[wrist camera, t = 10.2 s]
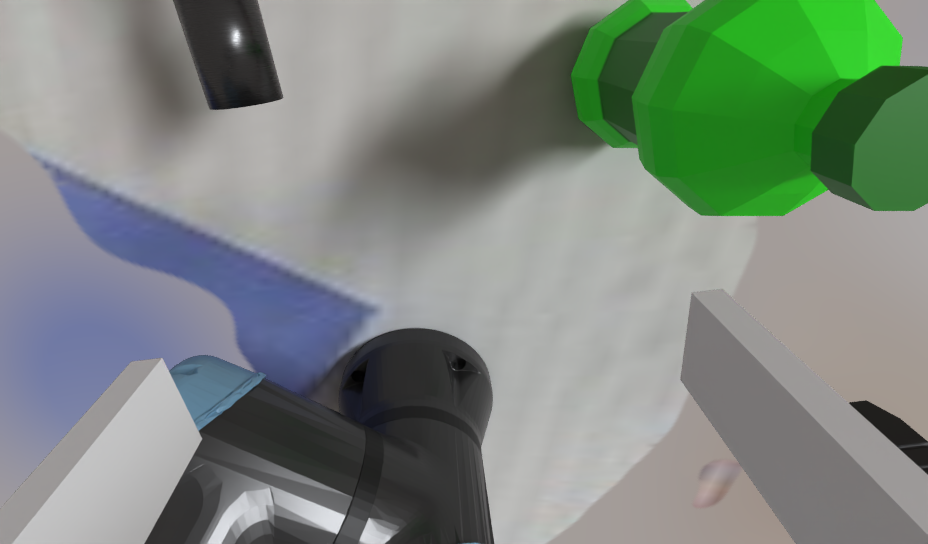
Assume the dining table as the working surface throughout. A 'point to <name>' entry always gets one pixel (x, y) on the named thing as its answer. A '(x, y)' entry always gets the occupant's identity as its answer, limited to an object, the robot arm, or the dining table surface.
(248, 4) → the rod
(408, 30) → the dining table surface
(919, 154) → the plastic bottle
